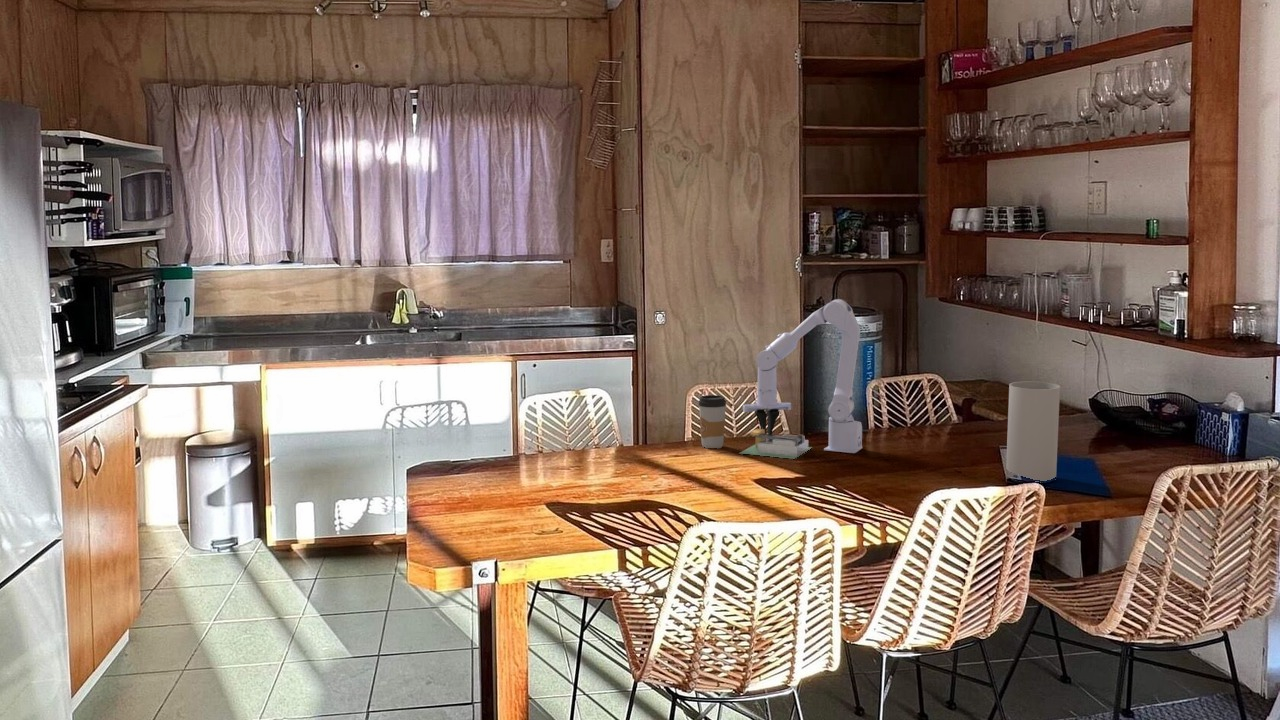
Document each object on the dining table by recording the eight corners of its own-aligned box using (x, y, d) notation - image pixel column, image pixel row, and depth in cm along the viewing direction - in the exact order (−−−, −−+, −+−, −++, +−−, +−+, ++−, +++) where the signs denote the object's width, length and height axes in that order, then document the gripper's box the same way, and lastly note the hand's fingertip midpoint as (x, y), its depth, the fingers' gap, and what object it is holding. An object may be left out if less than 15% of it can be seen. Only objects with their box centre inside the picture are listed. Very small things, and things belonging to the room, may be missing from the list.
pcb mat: (812, 448, 344) (812, 447, 344) (794, 459, 330) (794, 458, 330) (758, 443, 352) (758, 442, 352) (738, 454, 338) (739, 453, 338)
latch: (764, 447, 345) (764, 429, 344) (757, 451, 340) (758, 432, 339) (756, 446, 346) (757, 428, 345) (750, 450, 341) (750, 432, 340)
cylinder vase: (1023, 486, 298) (1027, 390, 295) (996, 475, 310) (999, 382, 306) (1065, 482, 301) (1070, 387, 298) (1037, 471, 313) (1041, 380, 310)
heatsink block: (808, 450, 341) (808, 433, 340) (796, 457, 332) (797, 440, 331) (769, 446, 346) (769, 429, 345) (757, 453, 337) (757, 436, 337)
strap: (801, 441, 338) (801, 437, 337) (798, 443, 335) (798, 439, 335) (757, 435, 344) (757, 431, 343) (753, 437, 341) (754, 433, 341)
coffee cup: (693, 445, 350) (693, 396, 348) (717, 442, 354) (717, 394, 351) (706, 450, 343) (706, 400, 340) (731, 447, 346) (731, 398, 344)
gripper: (747, 392, 342) (747, 438, 344) (794, 390, 345) (794, 435, 347) (740, 389, 349) (740, 433, 351) (786, 386, 351) (786, 431, 353)
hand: (766, 434), depth 349 cm, fingers closed
